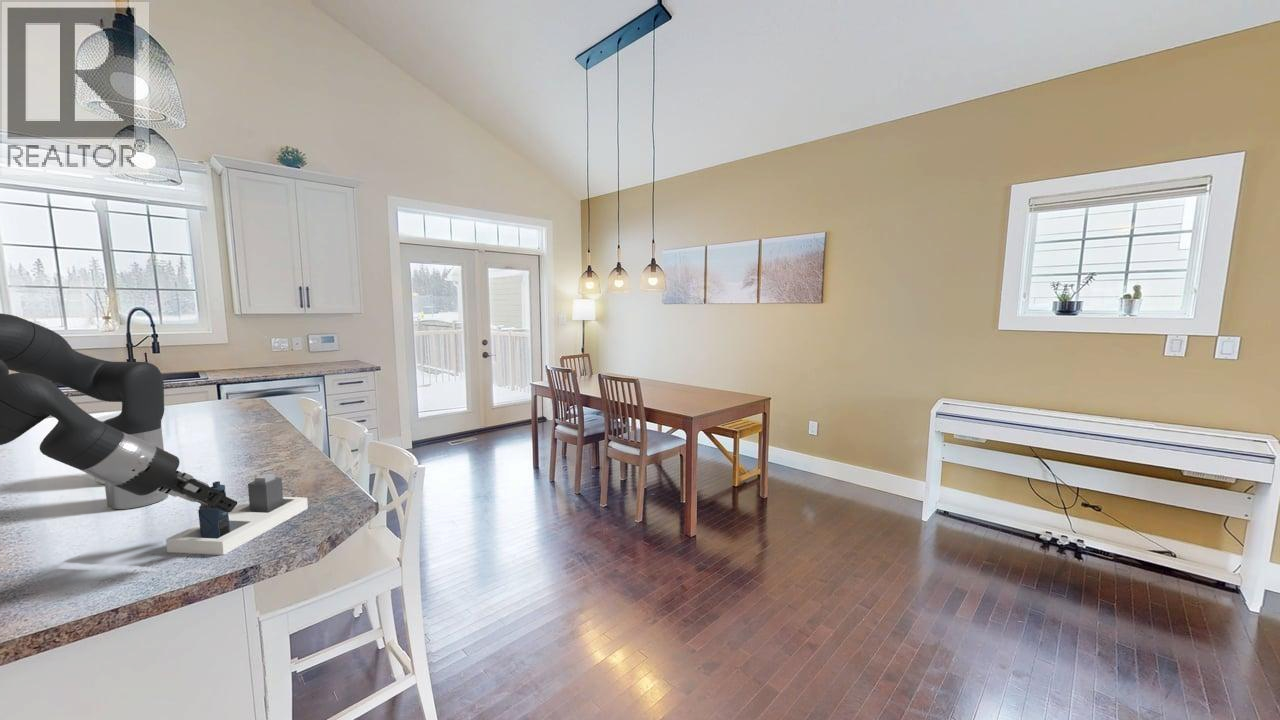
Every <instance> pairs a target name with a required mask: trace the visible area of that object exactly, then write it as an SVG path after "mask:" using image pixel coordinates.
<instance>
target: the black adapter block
mask: <svg viewBox="0 0 1280 720" xmlns="http://www.w3.org/2000/svg"><path fill="white" fill-rule="evenodd" d="M282 478H283V477H277V476H276V475H275V474H272V473H263V474H260V475H258V476H256V477H254V480H253V481H251V482H249V483H247V488H248V490H247V491H248V502H249V505H250V512H262V513H269V512H271V511H273V510H275V509H277V508H279V507H281V506H283V497H284V494H283V481H282Z"/></svg>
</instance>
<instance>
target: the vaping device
mask: <svg viewBox="0 0 1280 720" xmlns="http://www.w3.org/2000/svg"><path fill="white" fill-rule="evenodd" d="M210 487H211V488H213V489H215V490H217V491H221V492H222V493H224V494H223V495H224V496H226V497H227V493H226V485H225V484H221V481H213V482H212V486H210ZM211 494H212V493H211V492H209V496H210V495H211ZM205 500H207V499H205ZM200 503H201V504H200ZM200 503H199V504H200V506H198V511H197V512H198V520H199V521H198V522H199V523H198V524H200V532H201V538H215V539H218V538H220V537H222V536H224V535H226V534H227V533H229V532H230V526H229V516H228V512H225V511H222V510H220V509H218V508H216V507H213V506H209V505H208V506H207V505H205V503H202V502H200Z"/></svg>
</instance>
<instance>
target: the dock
mask: <svg viewBox="0 0 1280 720" xmlns="http://www.w3.org/2000/svg"><path fill="white" fill-rule="evenodd" d="M308 503H309V502H308V497H301V496H298V497H295V496H283V506H281V507H279V508H277V509H275V510H273V511H271V512H269V513H262V512H250V505H249V501H247V502H244V503H241V504H240V505H238V506H235V507H234V509H233V510H232V511H231V512H229V513H228V516H229V526H230V532H229V533H227V534H226V535H224V536H222V537H220V538H218V539H215V538H201V532H200V523H198V524H196V525H194V526H192V527H190V528H187V529H185V530H183V531H181V532H178V533H176V534H174V535H172V536H170V537H167V538H166V539H165V545H166V553H172V554H173V553H175V554H176V553H177V554H193V555H194V554H197V555H214V556H215V555H219V556H225V555H226V554H227V553H230V552H231V551H233V550H236V549H237V548H239V547H240V546H242V545H244V544H246V543H248V542H249V541H251V540H253V539H255V538H257V537H259V536H261V535H263V534H264V533H266V532H268V531H271V529H273V528H275V527H277V526H279V525H281V524H282V523H284V522H287V521H289V519H292V518H294V517H295V516H297V515H299V514H301V513H302V512H304V511H306V510H307V509H309V508H308V507H309V506H308V505H309V504H308Z"/></svg>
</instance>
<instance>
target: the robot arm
mask: <svg viewBox="0 0 1280 720" xmlns="http://www.w3.org/2000/svg"><path fill="white" fill-rule="evenodd" d="M10 371H11V372H14V373H10ZM53 382H54V383H53ZM164 383H165V382H164V378H163V374H162V372H161V370H160V369H159V367H158V366H156V365H155V364H153V363H151V362H147V361H146V362H145V361H109V360H104V359H99V358H96V357H93V356H90V355H87V354H83V353H82V352H79V351H76V350H75V349H73V348H72V346H71V345H70V344H69V343H68V341H67V340H66V338H64V337H63V336H62V335H60V334H59V333H57V332H55V331H54V330H52V329H50V328H47V327H46V326H45V327H44V326H42V325H39V324H38V323H35V322H32V321H30V320H27V319H24V318H22V317H19V316H17V315H13V314H9V313H8V314H7V313H1V312H0V446H2V445H6V444H9V443H11V442H13V441H14V440H16V439H18V438H19V437H21V436H23V435H24V434H25V433H27V432H28V431H29V430H31V429H32V428H34V427H35V426H36V425H38V424H39V423H41V422H43V421H44V420H46V419H47V418H49V417H50V416H51V417H53V418H55V419H56V420H57V423H56V424H55V425H54V427H53V428H52V429H51V431H49V432H48V433H47V435H46V436H44V438H43V439H42V440H41V442H40V444H39V451H40V453H42V455H44V456H46V457H47V458H50V459H52V460H55V461H56V462H59V463H62V464H64V465H67V466H69V467H72V468H75V469H77V470H79V471H82V472H84V473H85V474H87V475H89V476H90V477H92V478H94V479H95V478H96V479H99V480H101V481H103V482H105V484H104V489H105V497H106V498H105V499H106V506H107V507H110V508H111V509H114V510H126V509H129V510H130V509H134V508H139V507H145V506H149V505H153V504H155V503H158V502H161V501H163V500H165V499H167V498H168V497H169V496H172V497H175V498H177V497H179V498H181V499H184V500H186V501H188V502H192V503H199V504H200V505H201V503H200V502H202V503H205V505H207V506H208V505H209V506H213V507H216V508H218V509H220V510H222V511H225V512H228V513H229V512H231V511H232V510H233V509H234V508H235V507H237V505H238V501H237V500H234V499H233V498H230V497H228V496H227V495H226V496H224V495H223V494H224V493H222V492H221V491H217V490H215V489H213V488H211V487H212V486H210V484H208V483H206V482H204V481H202V480H199V479H196V478H195V477H194V476H193V475H191V474H189V473H186V472H182V471H180V470H178V469H179V467H180V458H179V457H178V456H177V455H174V454H173V453H170V452H168V451H166V450H165V448H164V447H165V446H164V439H163V427H162V419H163V418H164V414H165V387H164V385H165V384H164ZM55 384H58V385H62V386H65V387H68V388H70V389H72V390H74V391H77V392H78V393H79V392H80V393H81V394H83V395H86V396H87V397H91V398H92V399H93V398H94V399H96V400H99V401H103V402H109V403H121V412H120V414H119V413H118V414H119V415H118V416H116V417H114V418H110V419H108V420H106V421H104V422H101V421H99V420H97V419H95V418H96V417H94V416H92V415H91V414H89V413H87V412H86V411H85V410H83V408H81V407H80V406H79V405H77V404H76V403H75V402H74V401H73V400H72V399H70V398H69V396H68V395H66V394H65V392H63V391H62V390H61V388H59V387H58V386H57V385H55ZM209 492H211V493H212V494H211V495H210V496H209ZM205 499H207V500H205Z"/></svg>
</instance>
